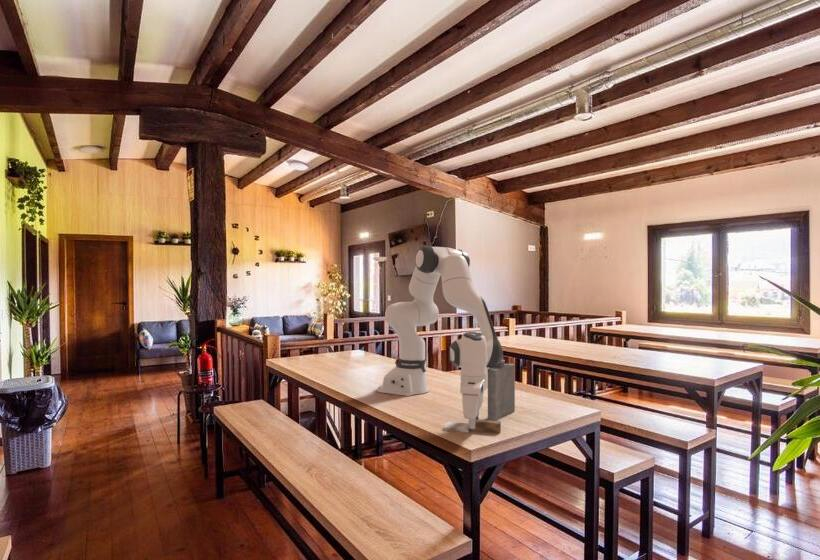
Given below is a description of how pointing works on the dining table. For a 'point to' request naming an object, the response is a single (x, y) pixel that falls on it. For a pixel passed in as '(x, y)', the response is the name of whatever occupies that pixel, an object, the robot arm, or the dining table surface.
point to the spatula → (480, 426)
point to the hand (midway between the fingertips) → (474, 424)
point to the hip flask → (501, 390)
